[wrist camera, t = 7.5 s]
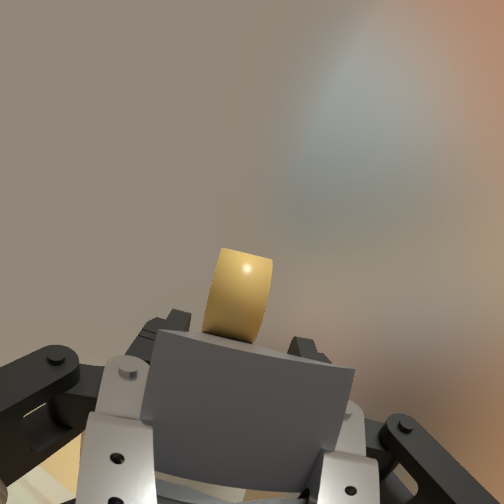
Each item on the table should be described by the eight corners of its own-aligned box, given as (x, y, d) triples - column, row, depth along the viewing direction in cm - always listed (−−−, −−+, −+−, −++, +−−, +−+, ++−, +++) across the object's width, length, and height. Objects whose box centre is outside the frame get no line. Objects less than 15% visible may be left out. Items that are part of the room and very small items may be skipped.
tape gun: (320, 492, 5) (373, 112, 7) (132, 463, 4) (242, 73, 7) (239, 373, 26) (262, 270, 28) (197, 363, 25) (221, 260, 28)
